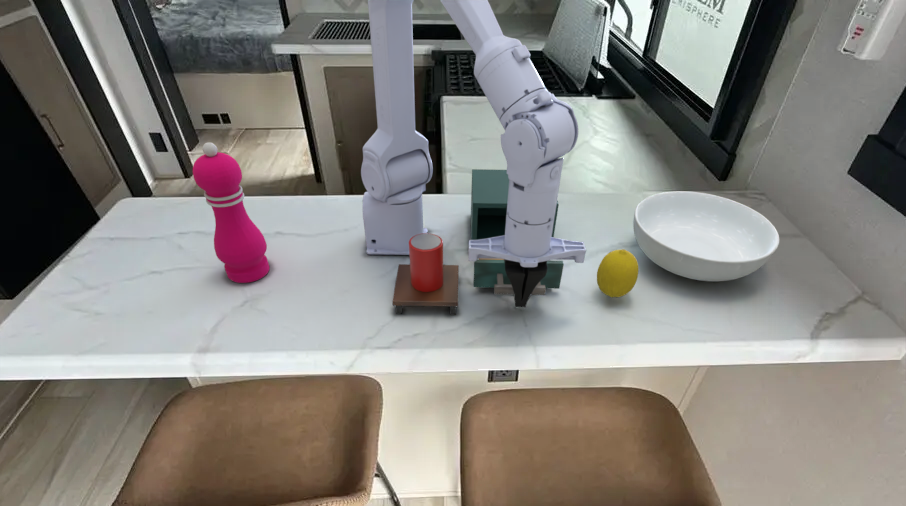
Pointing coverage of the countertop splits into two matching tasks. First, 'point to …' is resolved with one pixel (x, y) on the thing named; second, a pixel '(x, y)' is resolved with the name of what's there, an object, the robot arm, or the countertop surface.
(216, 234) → the pepper mill
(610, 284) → the lemon
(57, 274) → the countertop surface
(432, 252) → the can
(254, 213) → the countertop surface
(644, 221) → the serving bowl
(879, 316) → the countertop surface
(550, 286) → the handled drawer
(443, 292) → the brown square board
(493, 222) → the teal open box
